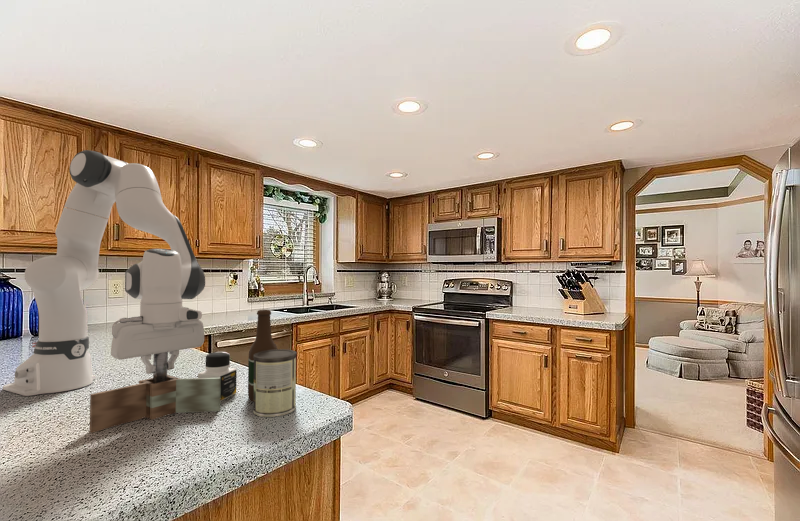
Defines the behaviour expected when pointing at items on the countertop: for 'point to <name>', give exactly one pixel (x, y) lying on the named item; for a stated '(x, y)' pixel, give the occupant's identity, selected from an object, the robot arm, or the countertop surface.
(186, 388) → the stand
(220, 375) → the medicine bottle
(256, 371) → the coffee can
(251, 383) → the beer bottle
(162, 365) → the hinge pin
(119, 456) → the countertop surface
